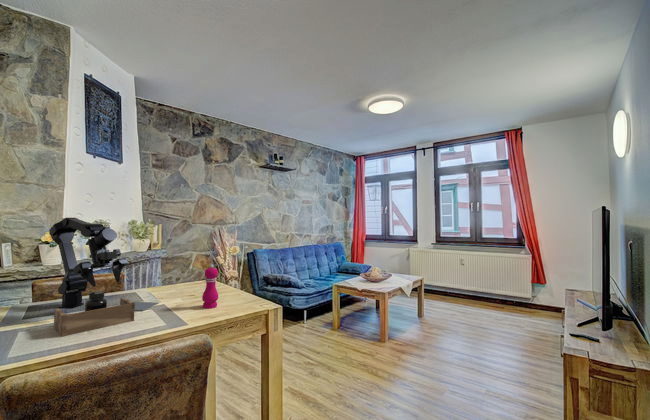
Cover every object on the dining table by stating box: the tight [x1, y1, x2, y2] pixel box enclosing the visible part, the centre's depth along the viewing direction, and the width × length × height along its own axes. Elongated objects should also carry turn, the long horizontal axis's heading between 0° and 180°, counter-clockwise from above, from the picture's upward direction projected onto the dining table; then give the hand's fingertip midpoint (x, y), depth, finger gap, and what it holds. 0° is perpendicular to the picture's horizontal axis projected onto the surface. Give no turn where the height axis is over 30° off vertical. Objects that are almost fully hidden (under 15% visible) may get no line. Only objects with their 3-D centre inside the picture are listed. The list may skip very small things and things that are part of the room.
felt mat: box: [132, 301, 159, 312], centre depth 140 cm, size 12×12×1 cm
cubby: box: [53, 297, 135, 337], centre depth 117 cm, size 12×22×7 cm, turn 142°
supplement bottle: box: [84, 291, 108, 311], centre depth 118 cm, size 7×7×12 cm
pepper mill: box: [201, 263, 219, 309], centre depth 144 cm, size 7×7×20 cm
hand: (106, 284), depth 127 cm, fingers open, 9 cm apart
